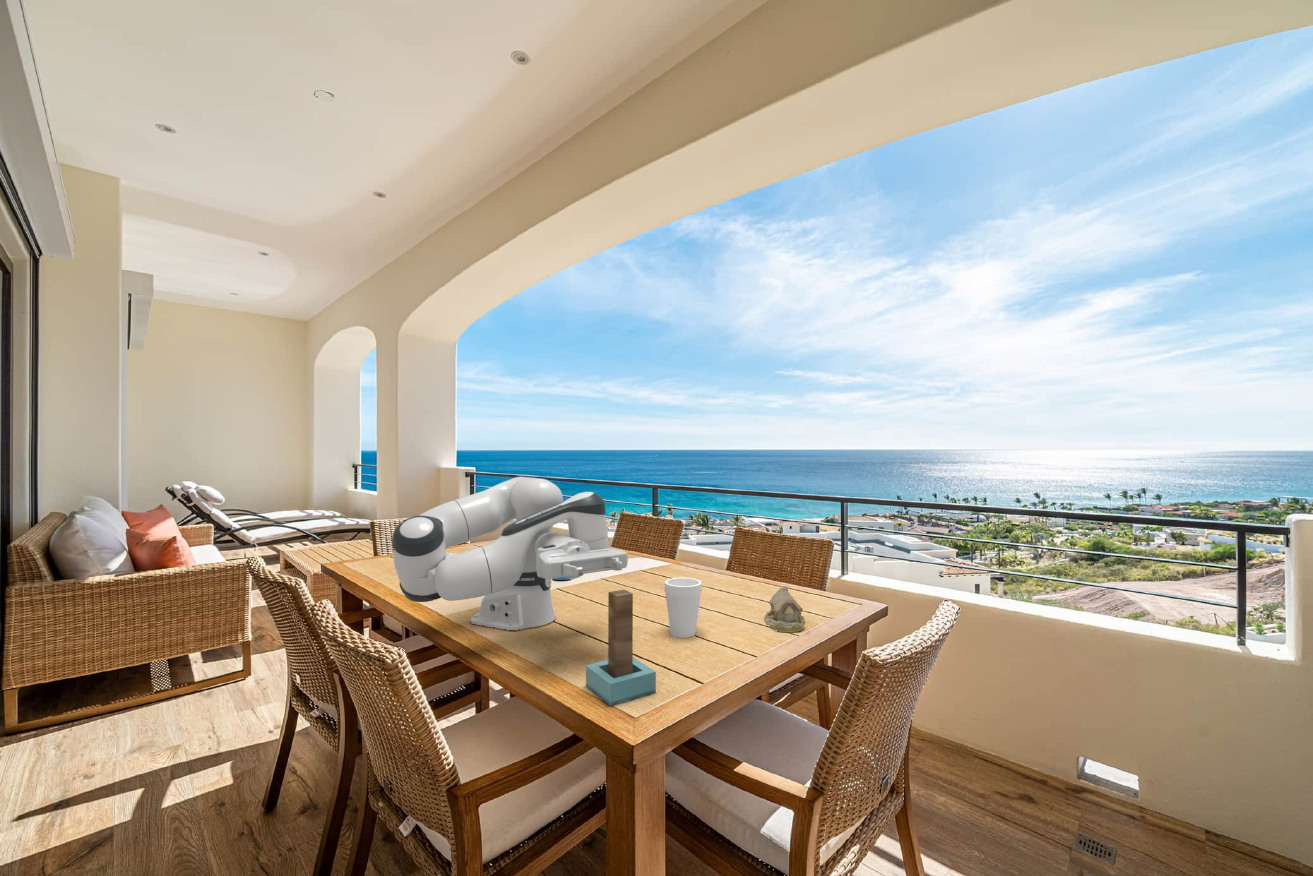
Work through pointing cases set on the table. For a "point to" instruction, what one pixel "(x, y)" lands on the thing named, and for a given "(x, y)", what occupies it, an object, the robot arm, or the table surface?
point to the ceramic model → (784, 612)
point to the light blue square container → (620, 682)
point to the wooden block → (620, 633)
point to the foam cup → (683, 605)
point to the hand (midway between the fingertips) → (600, 569)
